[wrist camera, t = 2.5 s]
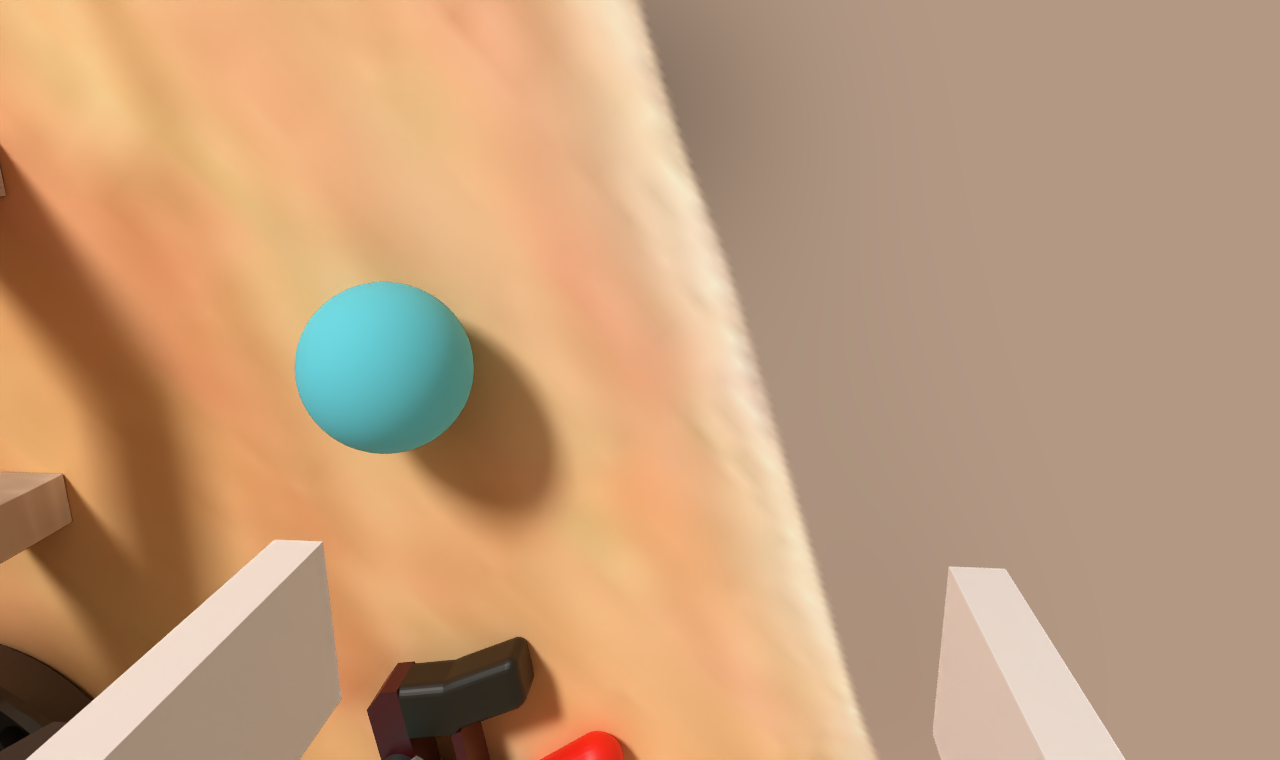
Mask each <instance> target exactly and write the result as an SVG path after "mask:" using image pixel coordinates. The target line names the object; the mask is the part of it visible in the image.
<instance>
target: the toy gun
mask: <svg viewBox="0 0 1280 760" xmlns="http://www.w3.org/2000/svg"><path fill="white" fill-rule="evenodd" d="M533 678H534V672H533V668H532V663H531V659H530V655H529V650H528V646H527V642H526V641H525V639H524V638H522V637H516V638H513V639H510V640H507V641H505V642H502V643H499V644H496V645H494V646H491V647H488V648H486V649H483V650H480V651H477V652H475V653H472V654H469V655H466V656H464V657H461V658H459V659H457V660H448V661H437V662H427V663H416V664H415V662H404V663H398V664H397V666H396V667H395V668H394V670H393V671H392V672H391V674H390V675H389V677H388V678H387V679H386V681H385V682H384V684H383V686H382V687H381V689H380V690H379V692H378V693H377V695H376V697H375V698H374V700H373V701H372V703H371V705H370V706H369V708H368V709H367V712H368V716H369V719H370V723H371V726H372V729H373V733H374V736H375V740H376V743H377V747H378V750H379V754H380V757H381V760H441V758H440V755H439V751H438V747H437V744H436V740H435V736H445V735H451V739H452V743H453V747H454V750H455V754H456V758H457V760H490V757H489V753H488V749H487V746H486V742H485V738H484V734H483V730H482V726H481V722H480V721H483V720H485V719H488V718H491V717H494V716H497V715H500V714H503V713H506V712H509V711H512V710H514V709H517V708H519V707H520V706H521V705H522V704H523V703H524V702H525V700H526V698H527V695H528V692H529V689H530V687H531V684H532V681H533ZM541 760H624V755H623V751H622V748H621V746H620V744H619V743H618V741H617V740H616V739H615V738H614V737H613V736H612V735H610V734H608V733H606V732H602V731H594V732H590V733H588V734H586V735H584V736H582V737H580V738H578V739H577V740H575V741H573V742H571V743H569V744H568V745H566V746H564V747H562V748H560V749H559V750H557V751H555V752H553V753H551V754H550V755H548V756H546V757H544V758H542V759H541Z"/></svg>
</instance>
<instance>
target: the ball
mask: <svg viewBox="0 0 1280 760" xmlns="http://www.w3.org/2000/svg"><path fill="white" fill-rule="evenodd" d="M473 376H474V361H473V353H472V349H471V345H470V341H469V339H468V336H467V334H466V332H465V330H464V328H463V326H462V324H461V323H460V321H459V320H458V319H457V317H456V316H455V315H454V313H453V312H452V311H451V310H450V309H449V308H448V307H447V306H446V305H444V304H443V303H442V302H441V301H440V300H438V299H437V298H435V297H434V296H432V295H431V294H429V293H427V292H425V291H423V290H421V289H419V288H416V287H413V286H410V285H406V284H401V283H392V282H373V283H368V284H363V285H358V286H355V287H352V288H350V289H347V290H345V291H343V292H341V293H339V294H338V295H336V296H334V297H333V298H331V299H330V300H329V301H327V302H326V303H325V304H324V305H323V306H322V307H321V308H320V309H319V310H318V311H317V312H316V313H315V314H314V315H313V316H312V318H311V319H310V320H309V322H308V323H307V325H306V327H305V329H304V331H303V333H302V335H301V338H300V340H299V343H298V346H297V351H296V358H295V379H296V384H297V389H298V392H299V395H300V398H301V400H302V402H303V404H304V406H305V408H306V410H307V411H308V413H309V415H310V416H311V417H312V419H313V420H314V421H315V423H316V424H317V425H318V426H319V427H320V428H321V429H322V430H323V431H325V432H326V433H327V434H328V435H329V436H331V437H332V438H334V439H335V440H337V441H338V442H340V443H342V444H344V445H346V446H349V447H351V448H354V449H357V450H361V451H365V452H370V453H379V454H389V453H399V452H405V451H409V450H412V449H415V448H418V447H420V446H423V445H425V444H427V443H429V442H431V441H432V440H434V439H435V438H437V437H438V436H440V435H441V434H442V433H443V432H445V431H446V430H447V429H448V428H449V427H450V426H451V425H452V424H453V423H454V421H455V420H456V419H457V418H458V416H459V415H460V413H461V411H462V410H463V408H464V407H465V404H466V402H467V400H468V398H469V394H470V391H471V387H472V383H473Z"/></svg>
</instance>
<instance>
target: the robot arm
mask: <svg viewBox="0 0 1280 760" xmlns="http://www.w3.org/2000/svg"><path fill="white" fill-rule="evenodd" d="M938 673H939V674H938V682H937V693H936V704H935V714H934V723H933V737H934V740H935V743H936V745H937V749H938V752H939V755H940V758H941V760H1125V758H1124V757H1123V755H1122V754H1121V752H1120V750H1119V749H1118V747H1117V746H1116V744H1115V743H1114V741H1113V739H1112V738H1111V736H1110V734H1109V733H1108V731H1107V730H1106V728H1105V727H1104V725H1103V723H1102V722H1101V720H1100V719H1099V717H1098V715H1097V714H1096V712H1095V711H1094V709H1093V707H1092V706H1091V704H1090V703H1089V701H1088V700H1087V698H1086V696H1085V695H1084V693H1083V692H1082V690H1081V688H1080V687H1079V685H1078V684H1077V682H1076V680H1075V679H1074V677H1073V676H1072V674H1071V673H1070V671H1069V669H1068V668H1067V666H1066V665H1065V663H1064V661H1063V660H1062V658H1061V656H1060V655H1059V653H1058V652H1057V650H1056V649H1055V647H1054V645H1053V644H1052V642H1051V641H1050V639H1049V637H1048V636H1047V634H1046V633H1045V631H1044V630H1043V628H1042V627H1041V625H1040V623H1039V621H1038V620H1037V618H1036V617H1035V615H1034V614H1033V612H1032V611H1031V609H1030V607H1029V606H1028V604H1027V602H1026V601H1025V599H1024V598H1023V596H1022V595H1021V593H1020V591H1019V590H1018V588H1017V586H1016V585H1015V583H1014V582H1013V580H1012V579H1011V577H1010V575H1009V574H1008V572H1007V571H1006V569H996V568H971V567H949V570H948V580H947V590H946V601H945V611H944V622H943V631H942V641H941V652H940V662H939V672H938ZM341 699H342V698H341V689H340V681H339V672H338V664H337V656H336V647H335V639H334V631H333V622H332V614H331V605H330V597H329V589H328V580H327V572H326V564H325V555H324V547H323V542H321V541H296V540H274V541H273V542H271V543H270V544H269V545H268V546H267V547H266V548H265V549H263V550H262V551H261V552H260V553H259V554H258V555H257V556H256V557H254V558H253V559H252V560H251V561H250V562H249V563H248V564H247V565H245V566H244V567H243V568H242V569H241V570H240V571H239V572H237V573H236V574H235V575H234V576H233V577H232V578H231V579H230V580H228V581H227V582H226V583H225V584H224V585H223V586H222V587H221V588H219V589H218V590H217V591H216V592H215V593H214V594H213V595H211V596H210V597H209V598H208V599H207V600H206V601H205V602H204V603H202V604H201V605H200V606H199V607H198V608H197V609H196V610H195V611H193V612H192V613H191V614H190V615H189V616H188V617H187V618H185V619H184V620H183V621H182V622H181V623H180V624H179V625H178V626H176V627H175V628H174V629H173V630H172V631H171V632H170V633H169V634H167V635H166V636H165V637H164V638H163V639H162V640H161V641H159V642H158V643H157V644H156V645H155V646H154V647H153V648H152V649H150V650H149V651H148V652H147V653H146V654H145V655H144V656H143V657H141V658H140V659H139V660H138V661H137V662H136V663H135V664H133V665H132V666H131V667H130V668H129V669H128V670H127V671H126V672H124V673H123V674H122V675H121V676H120V677H119V678H118V679H117V680H115V681H114V682H113V683H112V684H111V685H110V686H109V687H107V688H106V689H105V690H104V691H103V692H102V693H101V694H100V695H98V696H97V697H96V698H95V699H94V700H93V701H91V700H90V699H89V698H88V697H87V696H86V695H85V694H84V693H82V692H81V691H80V690H79V689H78V688H77V687H75V686H74V685H73V684H72V683H71V682H69V681H68V680H66V679H65V678H64V677H62V676H61V675H60V674H58V673H57V672H55V671H54V670H52V669H50V668H49V667H47V666H46V665H44V664H42V663H40V662H39V661H37V660H35V659H33V658H31V657H29V656H27V655H25V654H23V653H21V652H18V651H16V650H14V649H11V648H9V647H6V646H3V645H1V644H0V760H300V758H301V757H302V755H303V754H304V752H305V751H306V750H307V748H308V747H309V745H310V744H311V742H312V741H313V739H314V738H315V737H316V735H317V734H318V732H319V731H320V729H321V728H322V726H323V725H324V724H325V722H326V721H327V719H328V718H329V716H330V715H331V713H332V712H333V711H334V709H335V708H336V706H337V705H338V703H339V702H340V700H341Z"/></svg>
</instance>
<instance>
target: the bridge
mask: <svg viewBox="0 0 1280 760" xmlns="http://www.w3.org/2000/svg"><path fill="white" fill-rule="evenodd" d="M0 196H6V194H5V189H4V184H3V179H2V174H1V169H0ZM71 522H72V518H71V513H70V508H69V503H68V498H67V493H66V488H65V483H64V478H63V474H46V473H17V472H0V564H1V563H3V562H4V561H6V560H8V559H10V558H11V557H13V556H15V555H16V554H18V553H20V552H21V551H23V550H25V549H27V548H28V547H30V546H32V545H33V544H35V543H37V542H39V541H40V540H42V539H44V538H45V537H47V536H49V535H50V534H52V533H54V532H56V531H57V530H59V529H61V528H62V527H64V526H66V525H68V524H69V523H71Z"/></svg>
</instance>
